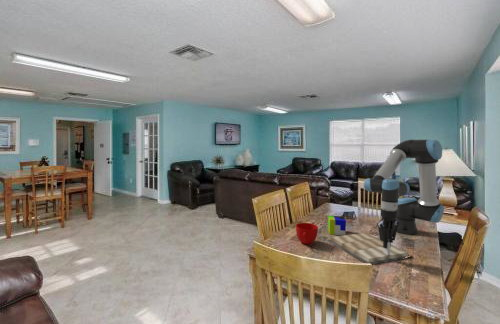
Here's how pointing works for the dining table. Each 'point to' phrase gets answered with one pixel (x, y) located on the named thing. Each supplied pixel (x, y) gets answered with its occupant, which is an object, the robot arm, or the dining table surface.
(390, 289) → the dining table surface
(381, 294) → the dining table surface
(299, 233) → the ceramic cup
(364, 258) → the birch plank
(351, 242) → the floor section
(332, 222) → the puzzle toy
